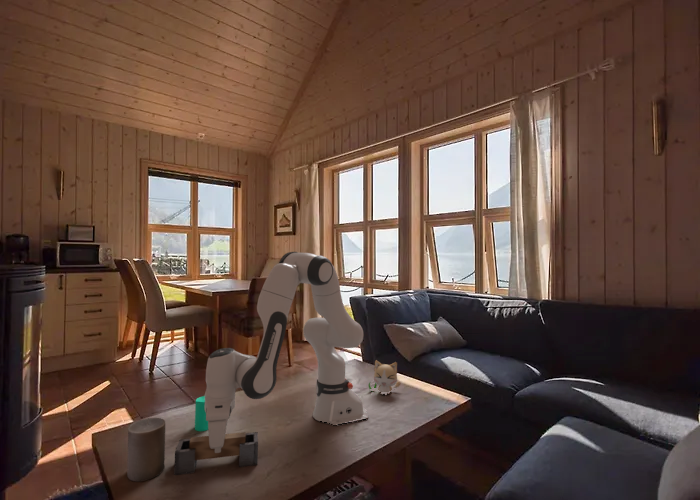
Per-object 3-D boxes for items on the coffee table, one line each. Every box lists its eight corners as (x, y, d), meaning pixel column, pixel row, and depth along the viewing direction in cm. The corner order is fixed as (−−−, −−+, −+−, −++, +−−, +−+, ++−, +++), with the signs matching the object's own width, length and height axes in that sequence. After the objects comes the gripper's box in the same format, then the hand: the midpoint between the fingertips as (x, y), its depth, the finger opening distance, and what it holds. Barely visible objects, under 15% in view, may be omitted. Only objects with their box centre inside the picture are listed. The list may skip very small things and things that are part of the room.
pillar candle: (170, 462, 111) (171, 413, 111) (154, 482, 101) (155, 428, 102) (138, 462, 111) (139, 413, 111) (118, 482, 101) (120, 428, 101)
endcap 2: (256, 451, 118) (257, 431, 118) (257, 464, 111) (258, 443, 111) (239, 454, 117) (240, 433, 117) (239, 467, 110) (239, 445, 110)
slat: (244, 449, 115) (245, 432, 115) (244, 454, 112) (245, 436, 112) (190, 455, 111) (191, 437, 111) (188, 461, 108) (189, 442, 108)
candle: (206, 432, 130) (207, 398, 130) (191, 430, 131) (192, 397, 132) (215, 424, 136) (216, 392, 136) (201, 422, 137) (202, 391, 137)
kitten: (366, 395, 169) (367, 363, 169) (370, 387, 179) (371, 357, 179) (398, 399, 165) (399, 366, 166) (400, 391, 175) (401, 360, 175)
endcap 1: (174, 475, 105) (174, 452, 105) (178, 460, 112) (179, 439, 112) (194, 472, 106) (194, 450, 106) (197, 458, 113) (198, 437, 114)
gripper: (212, 391, 121) (210, 432, 121) (205, 417, 101) (203, 467, 101) (232, 389, 123) (230, 430, 122) (229, 415, 103) (227, 465, 103)
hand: (218, 447), depth 111 cm, fingers closed on slat, 3 cm apart
